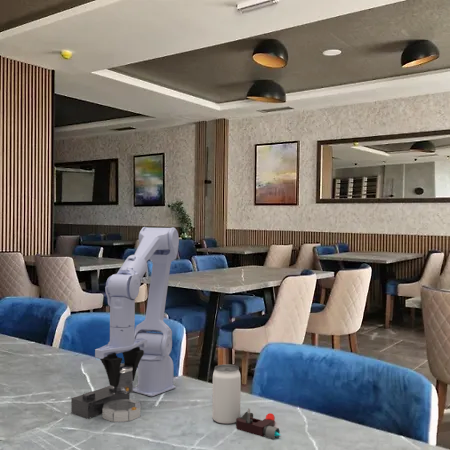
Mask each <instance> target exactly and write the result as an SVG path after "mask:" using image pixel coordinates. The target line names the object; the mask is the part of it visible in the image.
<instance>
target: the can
mask: <svg viewBox="0 0 450 450" xmlns="http://www.w3.org/2000/svg"><path fill="white" fill-rule="evenodd" d="M239 369H240V367H239V366H238V365H234V364H226V363H225V364H218V365H215V366H214V370H213V374H212V399H211V400H212V401H211V403H212V410H211V411H212V420H213V421H214V422H215V423H217V424H220V425H233V424H236V419H237V418H240V417H241V398H242V397H241V389H242V388H241V387H242V385H241V379H242V377H241V376H242V375H241V372H240V370H239Z"/></svg>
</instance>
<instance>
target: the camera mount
mask: <svg viewBox="0 0 450 450" xmlns="http://www.w3.org/2000/svg"><path fill="white" fill-rule="evenodd" d="M130 394H131V393H128V394H115V393H114V386H111V385H110V384H109V385H108V386H105V387H103V388H99V389H96V390H93V391H89V392H86V393H85V392H84V393H83V394H80V395H77V396H74V397H71V408H70V409H71V410H70V412H71V413H72V414H73V415H76V416H79V417H82V418H84V417H85V419H87V418H88V419H91V418H94V417H97V416H99V415H102V419H104V420H105V421H109V422H111V423H118V422H119V423H120V422H121V423H123V422H124V423H125V422H130V421H133V420H136V419H138V418H140V417H141V401H138V400H135V399H131V397H130ZM96 415H97V416H96ZM93 416H94V417H93ZM90 417H91V418H90Z"/></svg>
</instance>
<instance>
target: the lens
mask: <svg viewBox="0 0 450 450" xmlns="http://www.w3.org/2000/svg"><path fill="white" fill-rule="evenodd" d="M132 370H133V366H132V364H127V363H125V362H124V363H121V365H120V369H119V382H118V386H116V387H114V393H115V394H128V393H130V394H131V393H133V392H134V391H133V388H134V383H133V382H134V381H133V374H132Z"/></svg>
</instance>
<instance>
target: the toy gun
mask: <svg viewBox="0 0 450 450" xmlns="http://www.w3.org/2000/svg"><path fill="white" fill-rule="evenodd" d="M275 418H276V417H275V414H273V413H271V412H269V413H267V414H266V415H265V418H264V419H259V418H256V417H254V413H253V412H251V408H248V410H247V411H246V412H244V414H243V415H242V416H240V418H237V419H236V423H235V428H236V430H238V431H241V432H245V433H249V434H253V435H256V436H260V437H266V438H268V439H272V440H276V438H279V437H280V436H281V433H280V431H281V430H280V428H279V427H275V420H276V419H275Z"/></svg>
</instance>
